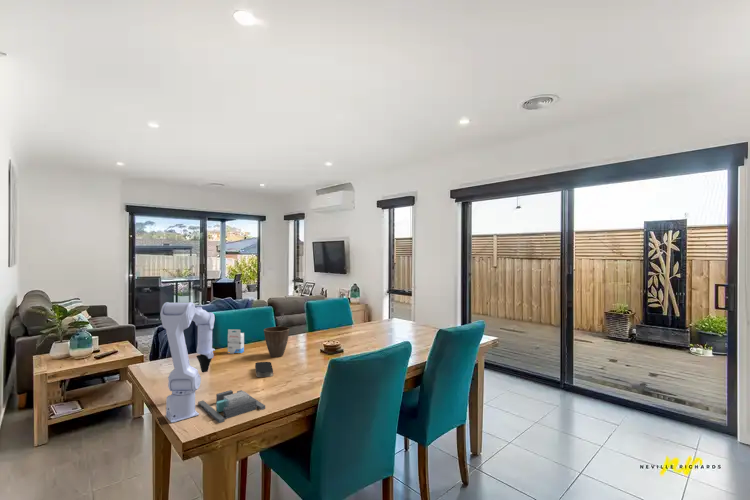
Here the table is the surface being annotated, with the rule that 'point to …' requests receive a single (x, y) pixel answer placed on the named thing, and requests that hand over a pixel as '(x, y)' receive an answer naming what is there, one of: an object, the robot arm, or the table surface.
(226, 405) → the steel block
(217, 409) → the sliding jaw
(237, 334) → the ink box
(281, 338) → the plant pot
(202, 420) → the table surface
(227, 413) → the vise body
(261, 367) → the black sponge
